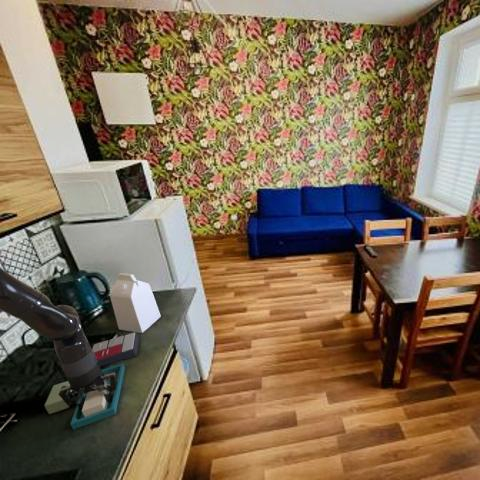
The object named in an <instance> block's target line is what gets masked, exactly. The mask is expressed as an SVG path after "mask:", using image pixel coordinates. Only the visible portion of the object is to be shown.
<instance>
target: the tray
mask: <svg viewBox="0 0 480 480" xmlns="http://www.w3.org/2000/svg"><path fill="white" fill-rule="evenodd" d="M125 370H126V367H125V365H124V363H121V364H116V365H113V366H111V367H106V368H103V369H101V371H102V373H104V374H105V375H106V374H110V373H111V372H112V371H116V376H117V387H116V390H115V391H113V394H114V396H113V399H112V401H111V402H108V405H107V409H106V410H104V411H101V412H98V413H95V414H92V415H90V416H87V417H84V415H83V413H82V410H80V409H79V407H78V405H77V404H76V407H75V409H74V412H73V416H72V418H71V421H70V427H71V428H72V430H76V429H79V428H83V427H84V426H87V425H90V424H92V423H93V424H94V423H95V422H98V421H101V420H104V419H106V418H109V417H113V416H114V415H117V411H118V406H119V400H120V395H121V390H122V385H123V380H124V375H125ZM104 380H105V381H106V382H107V384H109V385H111V383H110V382H109V381H108V380H107V379H104ZM86 396H87V394H83V396H82V398H83V397H84V398H85V399H86Z"/></svg>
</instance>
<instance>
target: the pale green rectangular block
mask: <svg viewBox="0 0 480 480" xmlns="http://www.w3.org/2000/svg"><path fill="white" fill-rule="evenodd" d="M62 386H66V387H67V386H70V384H69V382H68V380H67V381H64V382H61V383H57V384H53V386H52V388H51V391H50V392H49V394H48V396H47V399H46V401H45V404H43V405H44V408H45V410H46V411H47V413H48V415H51V414H54V413H57V412H60V411H64V410H66V409H69V408H70V407H71V405H67V404H66V403H65V402H64V400H63V399H62V398H61V397H60V396H59V392H60V390H61V387H62ZM71 392H72V390H71ZM73 395H74V396H75V393H74V394H73Z"/></svg>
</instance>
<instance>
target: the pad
mask: <svg viewBox="0 0 480 480" xmlns="http://www.w3.org/2000/svg"><path fill="white" fill-rule="evenodd" d="M107 405H108V401H107V398H106V396H105V393H103V392H99V391H97V390H96V391H92V392H89V393H87V396H86V399H85V402H84V406H83V409H82V413H83V415H84V417H87V416H90V415H92V414H95V413H98V412H101V411H104V410H106V409H107Z"/></svg>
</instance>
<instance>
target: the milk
mask: <svg viewBox="0 0 480 480" xmlns="http://www.w3.org/2000/svg"><path fill="white" fill-rule="evenodd" d="M109 297H110V302H111V305H112V309H113V313H114V316H115V320H116V324H117V327H118V328H117V329H118V330H120V331H127V332H131V333H134V332H137V333H138V334H139V333H140V334H143V333H145V332H146V331H147V330H148V329H149V328H150V327H151V326H153V324H154V323H155V322H157V320H159V319H160V318H161V317H162V316H161V313H160V310H159V307H158V304H157V301H156V298H155V296H154V293H153V290H152V287H151V285H150V284H149V283H148V282H145V281H141V280H138V279H137V278H136V277H135V275H134V274H133V273H126V272H119V273H118V274H117V280H116V282H115V283H114V285H113V287H112V289H111V291H110V293H109Z"/></svg>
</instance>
